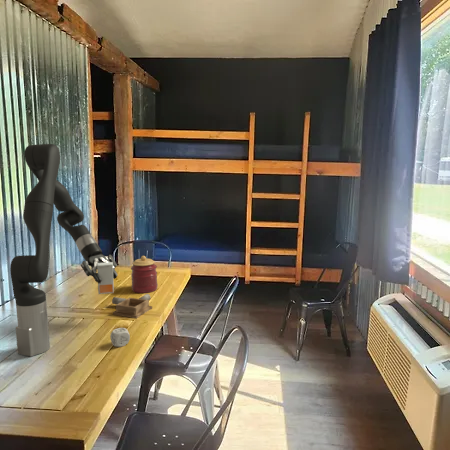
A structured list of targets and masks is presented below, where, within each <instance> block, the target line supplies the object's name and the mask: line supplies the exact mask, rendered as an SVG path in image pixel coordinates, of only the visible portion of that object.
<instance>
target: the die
mask: <svg viewBox="0 0 450 450" xmlns="http://www.w3.org/2000/svg"><path fill="white" fill-rule="evenodd" d="M130 335H131V334H130V333H129V330H128V329H127V328H125V327H118V328H115V329H113V330H112V331H111V333H110V341H111V344H112V346H113V347H115V348H122V347H124V346H127V345H128V344H129V342H130V339H131V337H130ZM126 344H127V345H126Z"/></svg>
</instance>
